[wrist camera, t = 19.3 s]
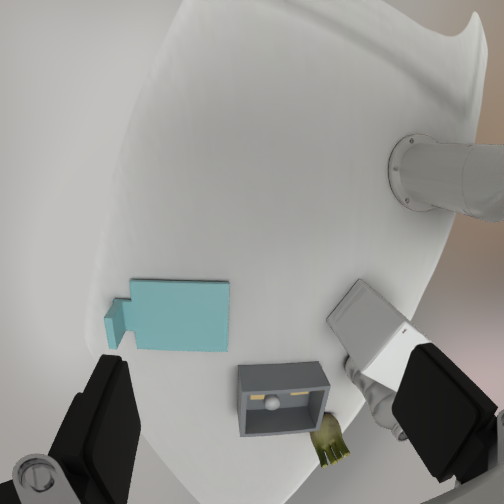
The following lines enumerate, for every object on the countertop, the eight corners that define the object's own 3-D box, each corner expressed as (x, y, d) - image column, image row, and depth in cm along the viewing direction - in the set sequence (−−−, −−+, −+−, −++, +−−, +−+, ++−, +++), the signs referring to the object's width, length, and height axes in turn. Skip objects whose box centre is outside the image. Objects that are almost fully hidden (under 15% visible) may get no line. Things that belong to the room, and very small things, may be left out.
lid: (228, 280, 47) (230, 300, 40) (227, 346, 50) (229, 372, 43) (113, 276, 45) (98, 295, 38) (122, 342, 48) (110, 366, 41)
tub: (318, 361, 53) (330, 385, 46) (309, 405, 56) (319, 430, 49) (238, 365, 51) (241, 391, 44) (237, 410, 54) (240, 437, 47)
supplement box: (323, 320, 50) (358, 373, 36) (358, 277, 49) (406, 319, 35) (358, 342, 53) (396, 394, 38) (391, 303, 51) (438, 347, 37)
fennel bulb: (306, 429, 58) (321, 472, 46) (306, 414, 56) (322, 458, 45) (333, 422, 58) (351, 463, 47) (334, 407, 57) (353, 449, 45)
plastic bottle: (342, 349, 53) (391, 427, 33) (376, 341, 53) (432, 410, 34) (341, 376, 54) (383, 454, 35) (373, 368, 55) (422, 438, 36)
